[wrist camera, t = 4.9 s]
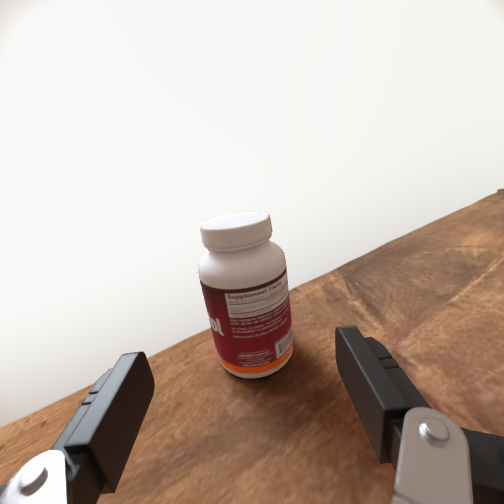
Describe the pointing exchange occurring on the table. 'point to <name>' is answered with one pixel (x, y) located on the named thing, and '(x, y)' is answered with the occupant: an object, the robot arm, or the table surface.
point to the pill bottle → (246, 294)
